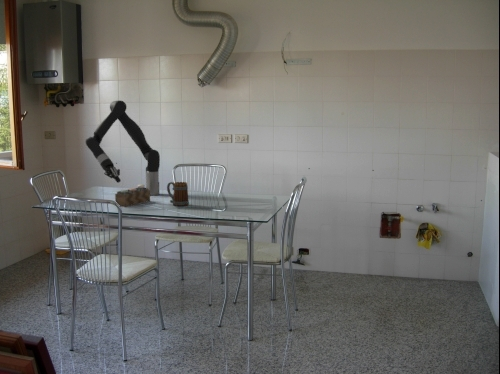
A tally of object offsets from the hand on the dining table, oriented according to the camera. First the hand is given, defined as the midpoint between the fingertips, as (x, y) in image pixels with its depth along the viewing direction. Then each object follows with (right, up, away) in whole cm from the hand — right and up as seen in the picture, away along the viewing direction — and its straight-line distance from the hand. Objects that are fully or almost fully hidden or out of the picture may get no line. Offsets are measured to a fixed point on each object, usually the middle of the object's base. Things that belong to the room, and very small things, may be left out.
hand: (119, 181), depth 327 cm
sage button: (+4, -8, -1) cm, 9 cm away
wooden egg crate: (+7, -14, +7) cm, 18 cm away
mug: (+38, -16, +5) cm, 41 cm away
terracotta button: (+8, -7, +6) cm, 12 cm away
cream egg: (+12, -4, +12) cm, 18 cm away
